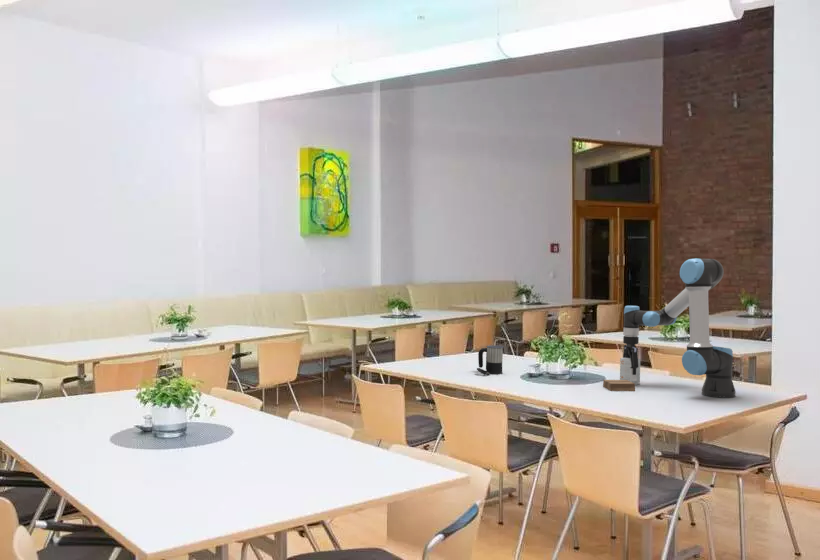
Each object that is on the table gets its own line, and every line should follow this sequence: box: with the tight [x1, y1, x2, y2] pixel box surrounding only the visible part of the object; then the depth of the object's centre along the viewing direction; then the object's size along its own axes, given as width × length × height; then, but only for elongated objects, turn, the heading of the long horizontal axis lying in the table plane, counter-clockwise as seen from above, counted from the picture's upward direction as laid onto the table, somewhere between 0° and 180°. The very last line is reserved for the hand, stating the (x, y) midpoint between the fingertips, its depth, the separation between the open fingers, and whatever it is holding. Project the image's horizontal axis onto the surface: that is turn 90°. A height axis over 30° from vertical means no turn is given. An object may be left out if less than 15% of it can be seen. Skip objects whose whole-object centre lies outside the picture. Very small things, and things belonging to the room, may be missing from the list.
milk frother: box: [476, 345, 504, 376], centre depth 445 cm, size 14×16×15 cm
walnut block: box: [602, 379, 636, 392], centre depth 402 cm, size 12×12×4 cm
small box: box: [619, 357, 641, 386], centre depth 419 cm, size 8×6×13 cm
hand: (629, 379), depth 419 cm, fingers closed on small box, 10 cm apart
